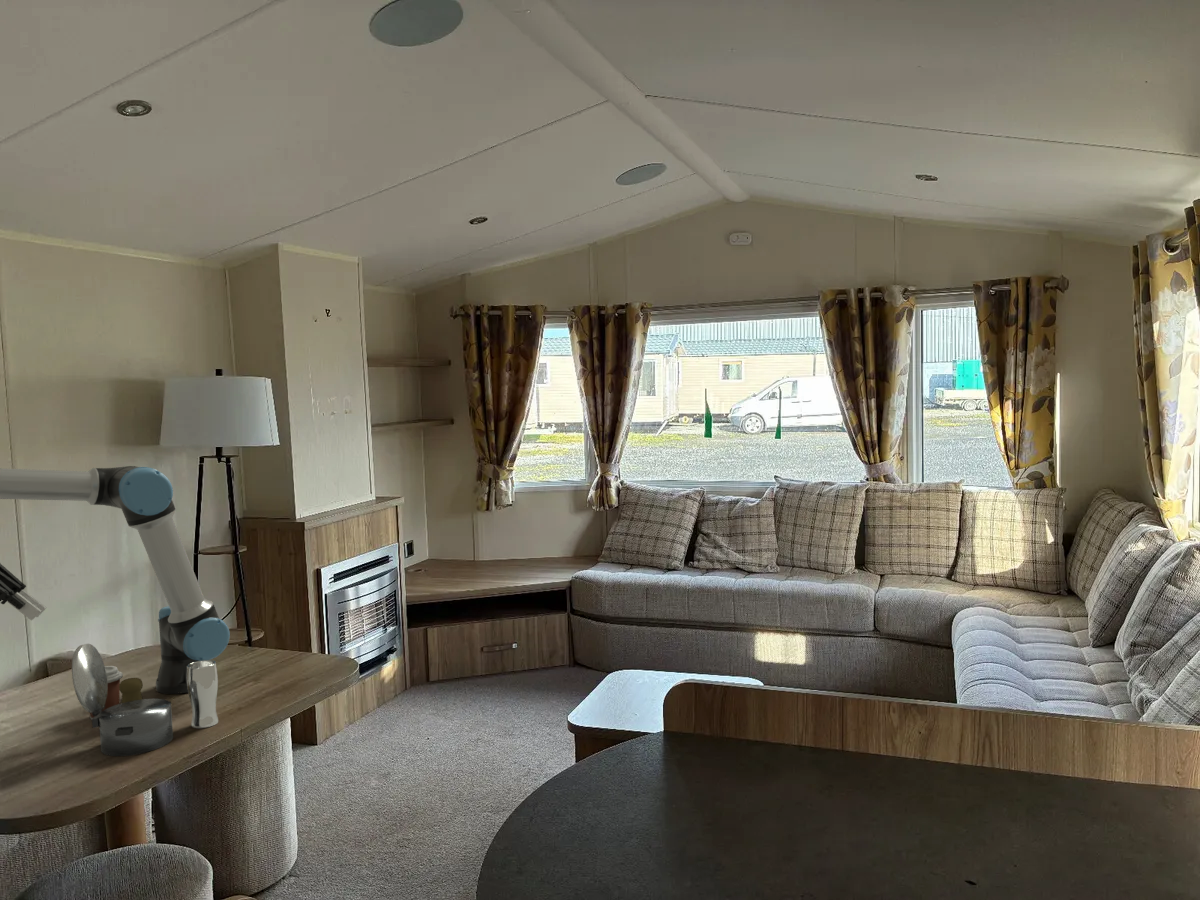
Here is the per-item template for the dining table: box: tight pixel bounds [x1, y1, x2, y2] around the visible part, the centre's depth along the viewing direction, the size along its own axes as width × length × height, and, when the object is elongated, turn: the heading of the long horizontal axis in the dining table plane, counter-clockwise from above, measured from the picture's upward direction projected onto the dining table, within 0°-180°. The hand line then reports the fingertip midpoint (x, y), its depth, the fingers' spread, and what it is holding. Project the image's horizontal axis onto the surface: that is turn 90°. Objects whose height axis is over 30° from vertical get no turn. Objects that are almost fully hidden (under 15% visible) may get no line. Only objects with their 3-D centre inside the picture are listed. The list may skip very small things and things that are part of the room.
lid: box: [71, 643, 108, 716], centre depth 208 cm, size 16×16×2 cm
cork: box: [119, 677, 143, 704], centre depth 224 cm, size 6×6×11 cm
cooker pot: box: [91, 698, 174, 757], centre depth 210 cm, size 16×19×8 cm
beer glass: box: [187, 659, 219, 729], centre depth 221 cm, size 7×7×15 cm
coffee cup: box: [89, 665, 124, 721], centre depth 229 cm, size 9×9×12 cm
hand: (39, 613), depth 205 cm, fingers open, 2 cm apart
